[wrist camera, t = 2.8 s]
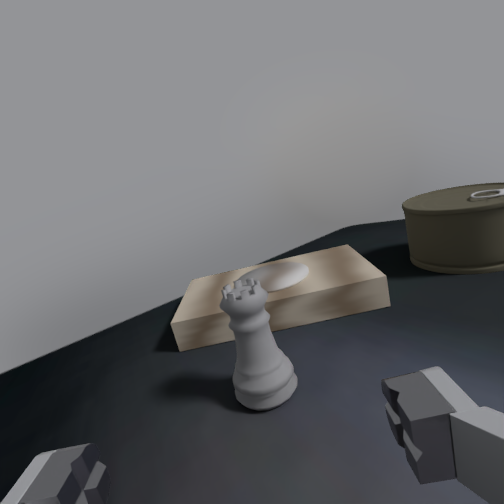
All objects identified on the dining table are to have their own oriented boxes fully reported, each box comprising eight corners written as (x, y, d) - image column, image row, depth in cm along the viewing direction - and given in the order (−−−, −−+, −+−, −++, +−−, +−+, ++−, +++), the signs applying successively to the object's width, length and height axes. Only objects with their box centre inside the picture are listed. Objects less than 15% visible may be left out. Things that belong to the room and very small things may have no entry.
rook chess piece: (236, 378, 25) (209, 281, 23) (293, 365, 25) (271, 267, 23) (235, 421, 21) (202, 308, 19) (304, 406, 21) (278, 290, 19)
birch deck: (179, 351, 31) (169, 320, 30) (198, 301, 43) (191, 277, 42) (390, 306, 30) (385, 272, 30) (351, 266, 42) (347, 242, 41)
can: (417, 241, 46) (411, 192, 44) (530, 235, 39) (529, 176, 37) (399, 275, 37) (391, 215, 35) (543, 276, 29) (543, 200, 28)
